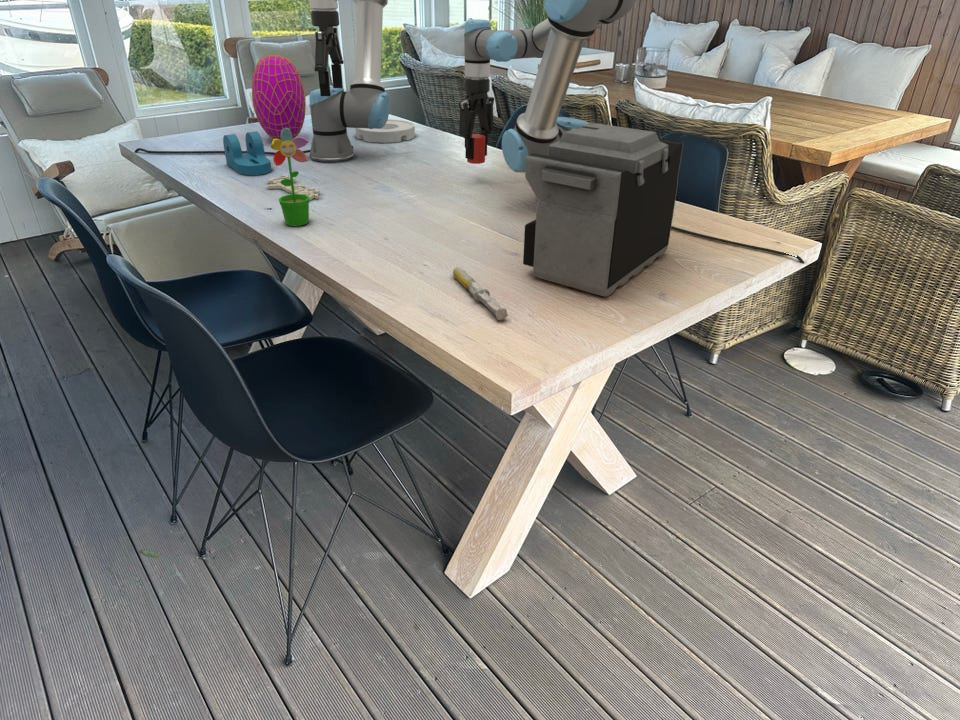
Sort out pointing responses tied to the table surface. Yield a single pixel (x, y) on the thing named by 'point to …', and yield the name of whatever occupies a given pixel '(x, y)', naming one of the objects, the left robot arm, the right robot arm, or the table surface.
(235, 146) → the camera mount
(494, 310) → the syringe
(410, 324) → the table surface
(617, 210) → the grey cooler box
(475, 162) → the canister
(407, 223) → the table surface
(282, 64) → the decorative egg
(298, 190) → the decorative sign
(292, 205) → the potted flower
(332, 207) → the table surface
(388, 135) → the ashtray
